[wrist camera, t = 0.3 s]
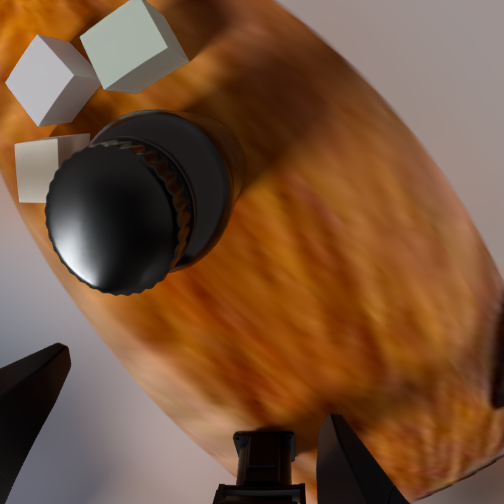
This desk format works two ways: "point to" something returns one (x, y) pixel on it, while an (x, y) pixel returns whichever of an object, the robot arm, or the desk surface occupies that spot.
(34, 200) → the birch block
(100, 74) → the sage block
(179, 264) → the supplement bottle
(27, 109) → the grey plastic block
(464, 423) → the desk surface
